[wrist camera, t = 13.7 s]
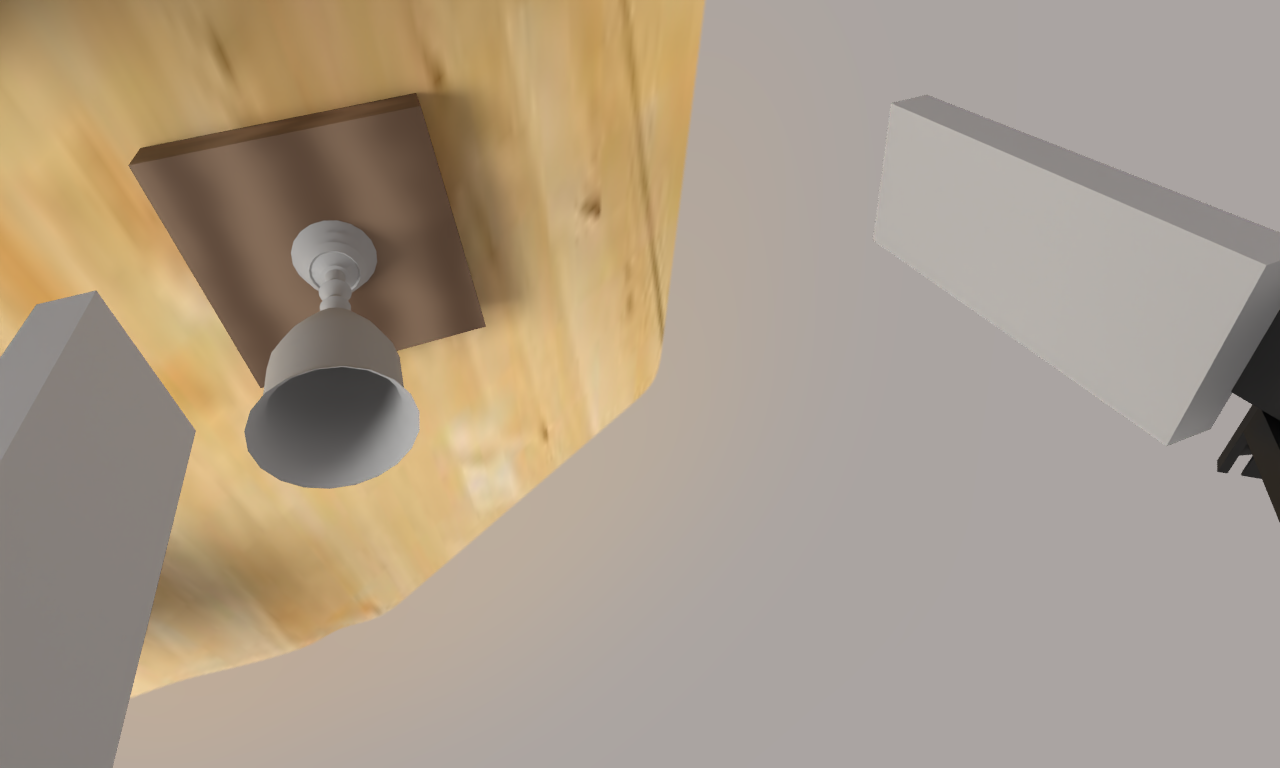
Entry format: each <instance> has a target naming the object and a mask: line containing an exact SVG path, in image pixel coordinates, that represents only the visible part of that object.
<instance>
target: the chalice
mask: <svg viewBox="0 0 1280 768" xmlns="http://www.w3.org/2000/svg"><path fill="white" fill-rule="evenodd" d="M291 256H292V262H293V265H294V267H295V269H296V271H297V272H298V274H299V275H300V276H301V277H302V278H303V279H304V280H305V281H306V282H307V283H308V284H310V285H311V286H312V287H313V288H314V289H316V290H318V291H319V296H320V298H321V300H322V302H321V304H320V311H319V312H317V313H315V314H313V315H311V316H310V317H308V318H306V319H305V320H303V321H302V322H300V323H299V324H297V325H296V326H294V327H293V328H292V329H291V330H290V332H289V333H288V334H287V335H286V336H285V337H284V338H283V339H282V340H281V341H280V343H279V344H278V345H277V346H276V348H275V349H274V350H273V351H272V353H271V356H270V359H269V362H268V366H267V370H266V377H265V385H264V393H263V396H262V397H261V399H260V400H259V401H258V402H257V404H256V405H255V406H254V407H253V408H252V410H251V411H250V414H249V417H248V421H247V424H246V428H245V431H244V432H245V437H246V443H247V448H248V452H249V453H250V454H251V456H252V457H253V458H254V460H255V461H256V462H257V464H258V465H259V466H260V468H262V469H263V470H265V471H266V472H268V473H269V474H271V475H273V476H274V477H276V478H277V479H279V480H281V481H284V482H288V483H291V484H295V485H298V486H302V487H309V488H329V489H330V488H337V487H343V486H349V485H356V484H358V483H361V482H364V481H366V480H369V479H372V478H374V477H377V476H379V475H381V474H382V473H384V472H385V471H387V470H388V469H390V468H391V467H393V466H395V465H396V464H398V462H399V461H400V460H401V459H402V458H403V457H404V456H405V455H406V454H407V453H408V451H409V450H410V449H411V448H412V446H413V444H414V441H415V439H416V437H417V434H418V432H419V410H418V408H417V406H416V404H415V402H414V400H413V398H412V396H411V394H410V393H409V392H408V391H407V390H406V389H404V386H403V379H402V371H401V364H400V357H399V355H398V353H397V351H396V349H395V347H394V345H393V343H392V342H391V341H390V340H389V339H388V338H387V337H386V336H385V335H384V334H383V333H382V332H381V331H380V330H379V329H378V328H377V327H376V326H375V325H374V324H373V323H372V322H371V321H370V320H368V319H366V318H364V317H362V316H360V315H358V314H356V313H354V312H352V311H351V305H350V303H349V301H348V300H349V299H350V298H351V295H352V292H354V291H355V290H357V289H358V288H359V287H360V286H362V285H363V284H364V283H366V282H367V281H368V280H369V278H370V277H371V276H372V274H373V273H374V271H375V268H376V264H377V254H376V249H375V247H374V245H373V243H372V241H371V239H370V238H369V237H368V236H367V235H366V234H365V233H364V232H363V231H362V230H360V229H359V228H357V227H355V226H353V225H352V224H349V223H345V222H341V221H321V222H317V223H314V224H311V225H309V226H308V227H306V228H305V229H303V230H302V231H300V233H299V234H298V236H297V237H296V239H295V240H294V241H293V246H292V250H291Z"/></svg>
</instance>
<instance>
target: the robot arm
mask: <svg viewBox="0 0 1280 768" xmlns="http://www.w3.org/2000/svg"><path fill="white" fill-rule="evenodd" d="M873 241H875V242H876V243H878V244H879V245H880V246H882V247H883V248H885V249H886V250H888V251H889V252H890V253H892V254H893V255H895V256H896V257H898V258H899V259H900V260H902V261H903V262H905V263H906V264H908V265H909V266H910V267H912V268H913V269H915V270H916V271H918V272H919V273H920V274H922V275H923V276H925V277H926V278H927V279H929V280H931V281H932V282H933V283H935V284H936V285H938V286H939V287H940V288H942V289H943V290H945V291H946V292H947V293H949V294H950V295H952V296H953V297H955V298H956V299H958V300H959V301H960V302H962V303H963V304H965V305H966V306H968V307H969V308H970V309H972V310H973V311H975V312H976V313H977V314H979V315H980V316H982V317H983V318H984V319H986V320H987V321H989V322H990V323H992V324H993V325H994V326H996V327H997V328H999V329H1000V330H1002V331H1003V332H1004V333H1006V334H1007V335H1009V336H1010V337H1012V338H1013V339H1015V340H1016V341H1017V342H1019V343H1020V344H1022V345H1023V346H1025V347H1026V348H1027V349H1029V350H1030V351H1032V352H1033V353H1034V354H1036V355H1037V356H1039V357H1040V358H1042V359H1043V360H1044V361H1046V362H1047V363H1049V364H1050V365H1052V366H1053V367H1054V368H1056V369H1057V370H1059V371H1060V372H1062V373H1063V374H1064V375H1066V376H1067V377H1069V378H1070V379H1072V380H1073V381H1074V382H1076V383H1077V384H1079V385H1080V386H1082V387H1083V388H1084V389H1086V390H1087V391H1089V392H1090V393H1091V394H1093V395H1094V396H1096V397H1097V398H1099V399H1100V400H1101V401H1103V402H1104V403H1106V404H1107V405H1109V406H1110V407H1111V408H1113V409H1114V410H1116V411H1117V412H1119V413H1120V414H1122V415H1123V416H1125V417H1126V418H1127V419H1129V420H1130V421H1132V422H1133V423H1134V424H1136V425H1137V426H1139V427H1140V428H1141V429H1143V430H1144V431H1146V432H1147V433H1149V434H1150V435H1152V436H1153V437H1154V438H1156V439H1157V440H1159V441H1160V442H1161V443H1163V444H1164V445H1166V446H1168V445H1171V444H1173V443H1176V442H1178V441H1181V440H1184V439H1186V438H1188V437H1191V436H1194V435H1196V434H1199V433H1201V432H1204V431H1206V430H1209V429H1211V427H1212V426H1213V424H1214V422H1215V421H1216V419H1217V417H1218V415H1219V414H1220V412H1221V411H1222V409H1223V407H1224V406H1225V404H1226V402H1227V401H1228V399H1229V397H1230V396H1231V394H1232V393H1234V394H1236V395H1237V396H1239V397H1241V398H1242V399H1244V400H1246V401H1248V402H1249V403H1251V404H1252V407H1251V408H1250V410H1249V411H1248V413H1247V414H1246V416H1245V418H1244V419H1243V421H1242V422H1241V424H1240V425H1239V427H1238V429H1237V430H1236V432H1235V433H1234V435H1233V437H1232V438H1231V440H1230V441H1229V443H1228V445H1227V446H1226V448H1225V449H1224V451H1223V452H1222V454H1221V456H1220V457H1219V459H1218V460H1217V465H1218V466H1217V467H1218V468H1217V471H1218V472H1223V473H1228V471H1229V470H1230V468H1231V467H1232V465H1233V464H1234V462H1235V461H1236V459H1237V458H1238V456H1239V455H1251V454H1252V455H1253V456H1252V458H1251V459H1250V461H1249V462H1248V464H1247V465H1246V467H1245V468H1244V470H1243V472H1242V473H1241V475H1242V476H1248V477H1254V478H1260V479H1262V480H1263V482H1264V485H1265V487H1266V490H1267V492H1268V495H1269V497H1270V499H1271V502H1272V504H1273V507H1274V509H1275V512H1276V514H1277V517H1278V519H1279V522H1280V232H1277V231H1274V230H1272V229H1269V228H1267V227H1264V226H1262V225H1259V224H1257V223H1254V222H1252V221H1249V220H1246V219H1244V218H1241V217H1238V216H1236V215H1233V214H1231V213H1228V212H1226V211H1223V210H1221V209H1218V208H1216V207H1213V206H1211V205H1208V204H1205V203H1202V202H1200V201H1198V200H1195V199H1193V198H1190V197H1187V196H1185V195H1182V194H1180V193H1177V192H1175V191H1172V190H1170V189H1167V188H1165V187H1162V186H1159V185H1157V184H1154V183H1151V182H1149V181H1146V180H1144V179H1141V178H1139V177H1136V176H1134V175H1131V174H1129V173H1126V172H1124V171H1121V170H1118V169H1116V168H1113V167H1111V166H1108V165H1106V164H1103V163H1100V162H1098V161H1095V160H1093V159H1090V158H1088V157H1085V156H1082V155H1080V154H1077V153H1075V152H1072V151H1070V150H1067V149H1065V148H1062V147H1060V146H1057V145H1054V144H1052V143H1049V142H1047V141H1044V140H1042V139H1039V138H1037V137H1034V136H1031V135H1029V134H1026V133H1024V132H1021V131H1018V130H1016V129H1013V128H1010V127H1008V126H1006V125H1003V124H1001V123H998V122H995V121H993V120H990V119H988V118H985V117H983V116H980V115H978V114H975V113H972V112H970V111H967V110H965V109H962V108H960V107H957V106H955V105H952V104H949V103H947V102H944V101H942V100H939V99H937V98H934V97H932V96H929V95H924V96H920V97H915V98H911V99H907V100H903V101H898V102H894V103H891V107H890V115H889V122H888V131H887V138H886V145H885V153H884V161H883V168H882V176H881V183H880V192H879V199H878V206H877V214H876V221H875V229H874V237H873ZM195 432H196V430H195V429H194V428H193V426H192V425H191V423H190V422H189V420H188V419H187V418H186V416H185V415H184V413H183V412H182V411H181V409H180V408H179V406H178V405H177V404H176V402H175V401H174V399H173V398H172V397H171V395H170V394H169V392H168V391H167V389H166V388H165V387H164V385H163V384H162V382H161V381H160V380H159V378H158V377H157V375H156V374H155V373H154V371H153V370H152V368H151V367H150V366H149V364H148V363H147V361H146V360H145V358H144V357H143V356H142V354H141V353H140V351H139V350H138V349H137V347H136V346H135V344H134V343H133V342H132V340H131V339H130V337H129V336H128V335H127V333H126V332H125V330H124V329H123V327H122V326H121V325H120V323H119V322H118V320H117V319H116V318H115V316H114V315H113V313H112V312H111V311H110V309H109V308H108V306H107V305H106V304H105V302H104V301H103V299H102V298H101V296H100V295H99V294H98V292H97V291H92V292H88V293H84V294H80V295H75V296H71V297H67V298H63V299H58V300H54V301H50V302H46V303H41V304H37V305H36V306H35V307H34V309H33V310H32V312H31V313H30V315H29V316H28V318H27V319H26V321H25V322H24V324H23V325H22V327H21V328H20V330H19V331H18V332H17V334H16V335H15V337H14V338H13V340H12V341H11V343H10V344H9V346H8V347H7V349H6V350H5V352H4V353H3V355H2V356H1V357H0V768H113V763H114V759H115V755H116V751H117V747H118V743H119V739H120V735H121V731H122V727H123V723H124V719H125V715H126V711H127V707H128V703H129V699H130V695H131V691H132V687H133V683H134V678H135V674H136V670H137V666H138V662H139V658H140V654H141V650H142V646H143V642H144V638H145V634H146V630H147V626H148V622H149V618H150V614H151V610H152V606H153V602H154V598H155V593H156V589H157V585H158V581H159V577H160V573H161V569H162V565H163V561H164V557H165V553H166V549H167V545H168V541H169V537H170V533H171V529H172V525H173V521H174V517H175V513H176V509H177V504H178V500H179V496H180V492H181V488H182V484H183V480H184V476H185V472H186V468H187V464H188V460H189V456H190V452H191V448H192V444H193V440H194V436H195Z"/></svg>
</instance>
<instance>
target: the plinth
mask: <svg viewBox="0 0 1280 768" xmlns="http://www.w3.org/2000/svg"><path fill="white" fill-rule="evenodd" d="M129 167H130V169H131V171H132V172H133V174H134V176H135V177H136V179H137V181H138V182H139V184H140V186H141V187H142V189H143V191H144V192H145V194H146V196H147V198H148V199H149V201H150V203H151V204H152V206H153V208H154V209H155V211H156V213H157V214H158V216H159V218H160V219H161V221H162V223H163V224H164V226H165V228H166V229H167V231H168V233H169V235H170V236H171V238H172V240H173V241H174V243H175V245H176V246H177V248H178V250H179V251H180V253H181V255H182V256H183V258H184V260H185V261H186V263H187V265H188V267H189V268H190V270H191V272H192V273H193V275H194V277H195V278H196V280H197V282H198V283H199V285H200V287H201V288H202V290H203V292H204V293H205V295H206V297H207V299H208V300H209V302H210V304H211V305H212V307H213V309H214V310H215V312H216V314H217V315H218V317H219V319H220V320H221V322H222V324H223V325H224V327H225V329H226V331H227V332H228V334H229V336H230V337H231V339H232V341H233V342H234V344H235V346H236V347H237V349H238V351H239V352H240V354H241V356H242V357H243V359H244V361H245V363H246V364H247V366H248V368H249V369H250V371H251V373H252V374H253V376H254V378H255V379H256V381H257V383H258V384H259V386H260V388H263V387H264V385H265V377H266V370H267V366H268V362H269V359H270V356H271V353H272V351H273V350H274V349H275V348H276V346H277V345H278V344H279V343H280V341H281V340H282V339H283V338H284V337H285V336H286V335H287V334H288V333H289V332H290V330H291V329H292V328H293V327H294V326H296V325H297V324H299V323H300V322H302V321H303V320H305V319H306V318H308V317H310V316H311V315H313V314H315V313H317V312H319V311H320V304H321V302H322V300H321V298H320V296H319V291H318V290H316V289H314V288H313V287H312V286H311V285H310V284H308V283H307V282H306V281H305V280H304V279H303V278H302V277H301V276H300V275H299V274H298V272H297V271H296V269H295V267H294V265H293V262H292V256H291V250H292V246H293V241H294V240H295V239H296V237H297V236H298V234H299V233H300V231H302V230H303V229H305V228H306V227H308V226H309V225H311V224H314V223H317V222H321V221H341V222H345V223H349V224H352V225H353V226H355V227H357V228H359V229H360V230H362V231H363V232H364V233H365V234H366V235H367V236H368V237H369V238H370V239H371V241H372V243H373V245H374V247H375V249H376V254H377V264H376V268H375V271H374V273H373V274H372V276H371V277H370V278H369V280H368V281H367V282H366V283H364V284H363V285H362V286H360V287H359V288H358V289H357V290H355V291H354V292H352V295H351V298H350V299H349V300H348V301H349V303H350V305H351V311H352V312H354V313H356V314H358V315H360V316H362V317H364V318H366V319H368V320H370V321H371V322H372V323H373V324H374V325H375V326H376V327H377V328H378V329H379V330H380V331H381V332H382V333H383V334H384V335H385V336H386V337H387V338H388V339H389V340H390V341H391V342H392V343H393V345H394V347H395V349H396V351H398V350H401V349H405V348H409V347H412V346H416V345H420V344H423V343H427V342H431V341H434V340H438V339H442V338H445V337H449V336H452V335H456V334H460V333H463V332H467V331H471V330H474V329H478V328H482V327H485V326H486V325H485V322H484V318H483V315H482V312H481V308H480V305H479V302H478V298H477V295H476V291H475V288H474V285H473V281H472V278H471V275H470V271H469V268H468V264H467V261H466V258H465V254H464V251H463V248H462V244H461V241H460V237H459V234H458V231H457V227H456V224H455V221H454V217H453V214H452V211H451V207H450V204H449V200H448V197H447V194H446V190H445V187H444V184H443V180H442V177H441V173H440V170H439V167H438V163H437V160H436V157H435V153H434V150H433V146H432V143H431V140H430V136H429V133H428V130H427V126H426V123H425V119H424V116H423V113H422V109H421V106H420V103H419V100H418V97H417V94H416V93H414V94H409V95H404V96H399V97H394V98H389V99H384V100H379V101H374V102H369V103H364V104H359V105H354V106H349V107H344V108H339V109H334V110H329V111H324V112H319V113H314V114H309V115H304V116H299V117H294V118H289V119H284V120H279V121H274V122H269V123H264V124H259V125H254V126H250V127H245V128H240V129H235V130H230V131H225V132H220V133H215V134H210V135H205V136H200V137H195V138H190V139H185V140H180V141H175V142H170V143H165V144H160V145H155V146H150V147H145V148H140V149H139V151H138V152H137V154H136V155H135V157H134V158H133V160H132V161H131V163H130V164H129Z"/></svg>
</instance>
